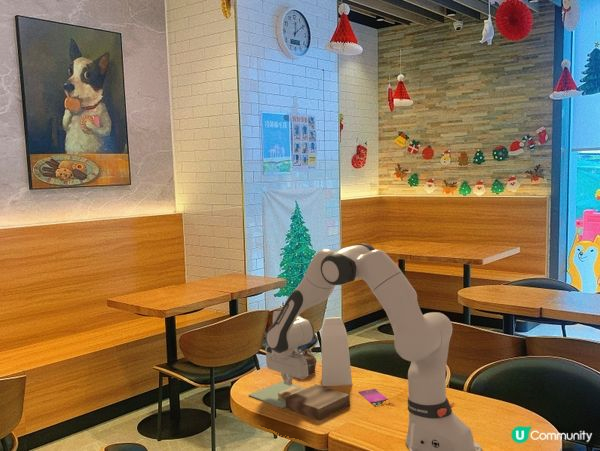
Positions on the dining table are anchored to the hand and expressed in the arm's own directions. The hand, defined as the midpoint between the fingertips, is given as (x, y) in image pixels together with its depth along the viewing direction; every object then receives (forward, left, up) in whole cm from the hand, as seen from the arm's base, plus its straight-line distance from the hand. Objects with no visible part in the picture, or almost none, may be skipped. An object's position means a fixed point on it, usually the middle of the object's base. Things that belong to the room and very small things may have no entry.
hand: (288, 384), depth 215 cm
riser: (-16, 0, -5) cm, 16 cm away
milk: (-3, -24, -5) cm, 25 cm away
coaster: (-3, 0, -4) cm, 5 cm away
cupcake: (+14, -23, -5) cm, 27 cm away
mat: (+3, 0, -5) cm, 6 cm away
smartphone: (-27, -19, -5) cm, 33 cm away
